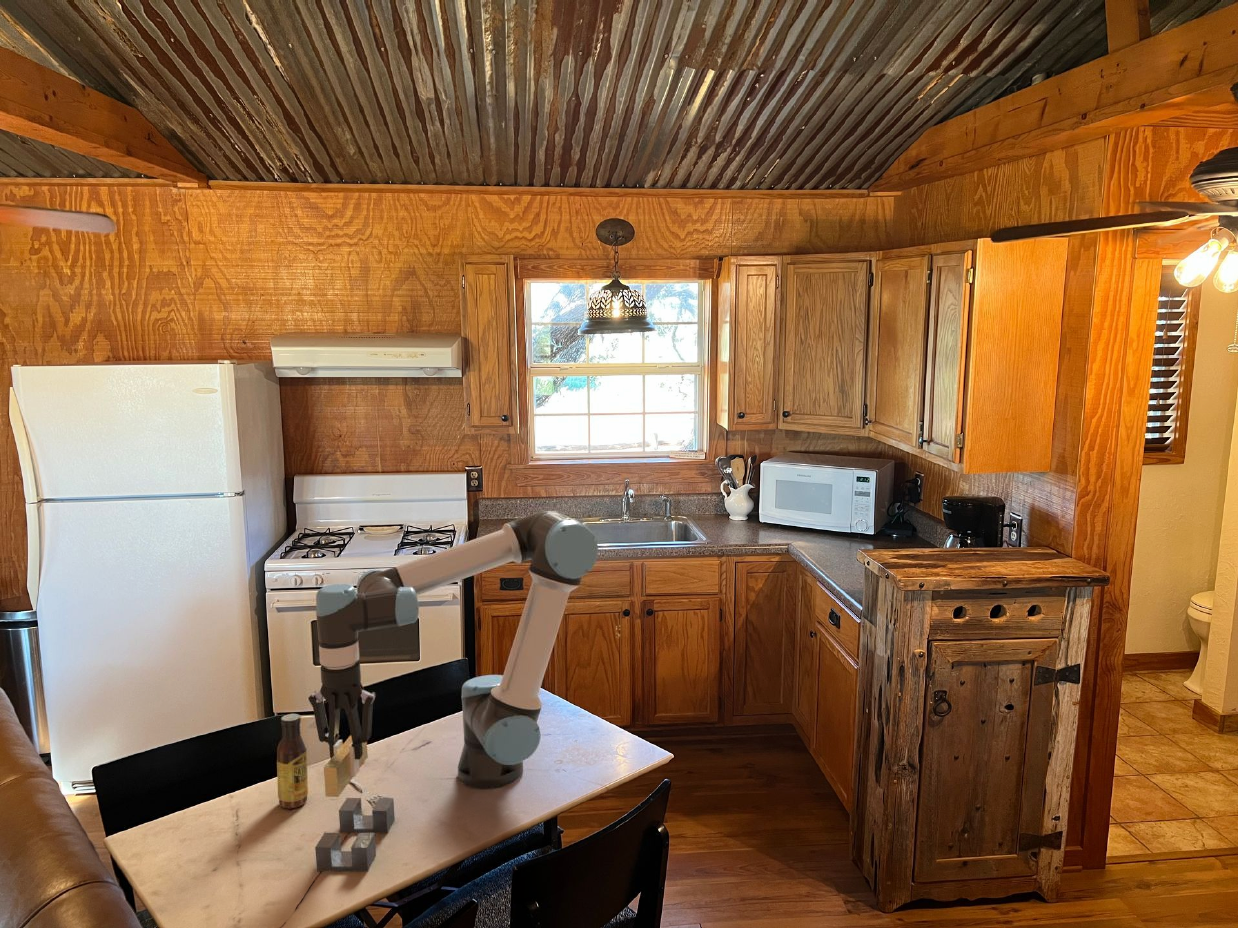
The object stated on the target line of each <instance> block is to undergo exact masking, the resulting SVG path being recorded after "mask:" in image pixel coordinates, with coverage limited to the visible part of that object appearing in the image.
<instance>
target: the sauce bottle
mask: <svg viewBox="0 0 1238 928" xmlns="http://www.w3.org/2000/svg"><path fill="white" fill-rule="evenodd" d="M301 721H302V720H301V715H300V714H298V713H289V714H285V715H283V716H281V718H280V724H281V733H282V734H281V740H280V741H279V743H278V745H277V749H276V752H277V753H276V757H277V759H276V770H277V771H276V774H277V798H278V803H279V806H280V808H283V809H290V810H292V809H296V808H299V807H301V806H303V805H305V804H306V803H307V801H308V795H309V781H308V777H309V775H308V749H307V747H306V745H305V742H304V740H303V738H302V735H301V723H302V722H301Z"/></svg>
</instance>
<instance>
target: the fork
mask: <svg viewBox="0 0 1238 928" xmlns="http://www.w3.org/2000/svg"><path fill="white" fill-rule="evenodd" d="M349 783H351V784H353V785H356V786H357V787H359V788H360V790H361V794H362V795H363V796H364V795H366V794H368V793H371V792H372V791H371V790H368V789H367V788H366V787H364V786H363V785H362V784H361V783H360V782H357V781H356V780H354V779H353V778H352V779H351V781H350V782H349ZM379 798H388V797H387V796H384V795H380V794H379V793H376V794H373V795H372V796H369V797H368V798H365V801H368V802H374V803H375V802H376V803H377V801H378V800H379Z"/></svg>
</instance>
